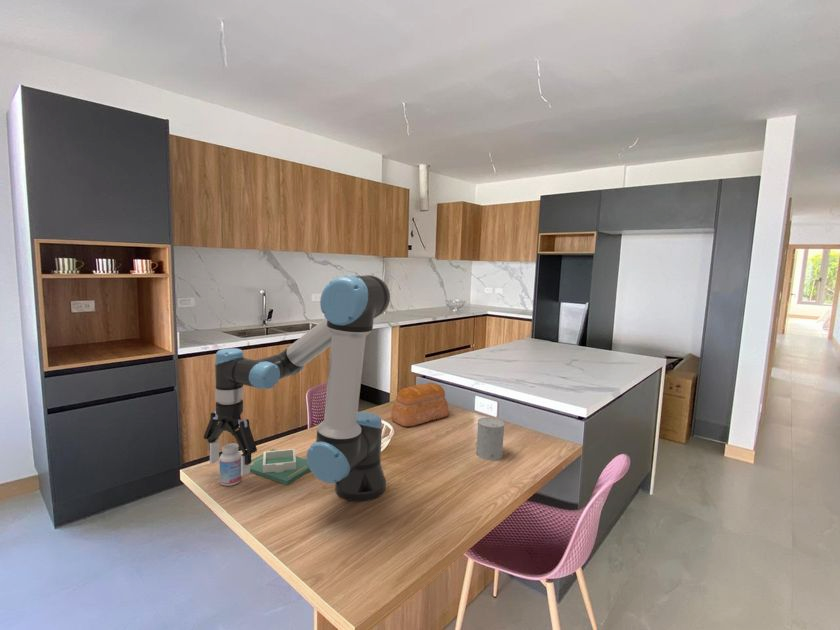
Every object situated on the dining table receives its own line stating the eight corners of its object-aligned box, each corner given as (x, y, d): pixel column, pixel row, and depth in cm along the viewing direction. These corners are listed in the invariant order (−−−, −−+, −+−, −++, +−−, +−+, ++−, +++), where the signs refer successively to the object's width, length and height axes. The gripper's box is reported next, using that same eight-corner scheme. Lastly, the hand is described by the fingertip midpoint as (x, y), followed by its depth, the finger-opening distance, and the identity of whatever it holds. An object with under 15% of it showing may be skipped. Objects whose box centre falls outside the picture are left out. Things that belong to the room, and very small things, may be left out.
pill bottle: (233, 487, 126) (232, 451, 124) (215, 485, 127) (214, 449, 125) (245, 478, 132) (245, 443, 130) (228, 475, 133) (227, 441, 131)
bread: (451, 417, 192) (453, 384, 190) (406, 430, 175) (408, 394, 173) (431, 408, 202) (433, 377, 200) (387, 420, 185) (388, 386, 183)
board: (317, 466, 141) (317, 455, 140) (286, 485, 128) (286, 473, 128) (273, 452, 150) (273, 442, 149) (240, 468, 137) (240, 457, 137)
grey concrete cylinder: (473, 457, 152) (474, 424, 151) (479, 446, 161) (481, 415, 160) (499, 462, 149) (501, 429, 147) (504, 452, 157) (506, 420, 156)
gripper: (269, 405, 124) (269, 473, 127) (212, 389, 135) (212, 452, 138) (249, 412, 117) (249, 484, 120) (190, 395, 128) (191, 462, 131)
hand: (229, 467), depth 129 cm, fingers open, 13 cm apart
